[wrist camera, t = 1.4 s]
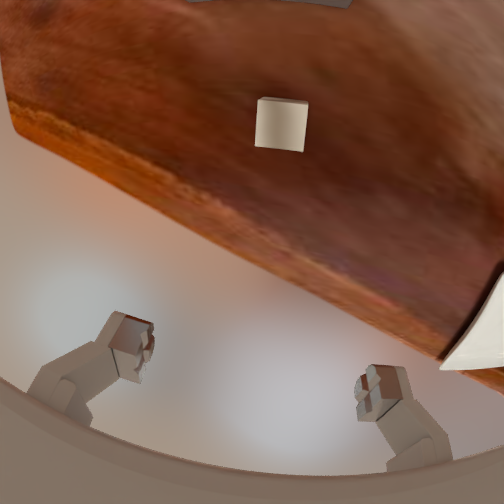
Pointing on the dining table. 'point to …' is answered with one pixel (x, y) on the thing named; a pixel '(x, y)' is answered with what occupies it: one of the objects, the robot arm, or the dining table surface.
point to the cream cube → (281, 123)
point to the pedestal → (331, 0)
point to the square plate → (481, 336)
